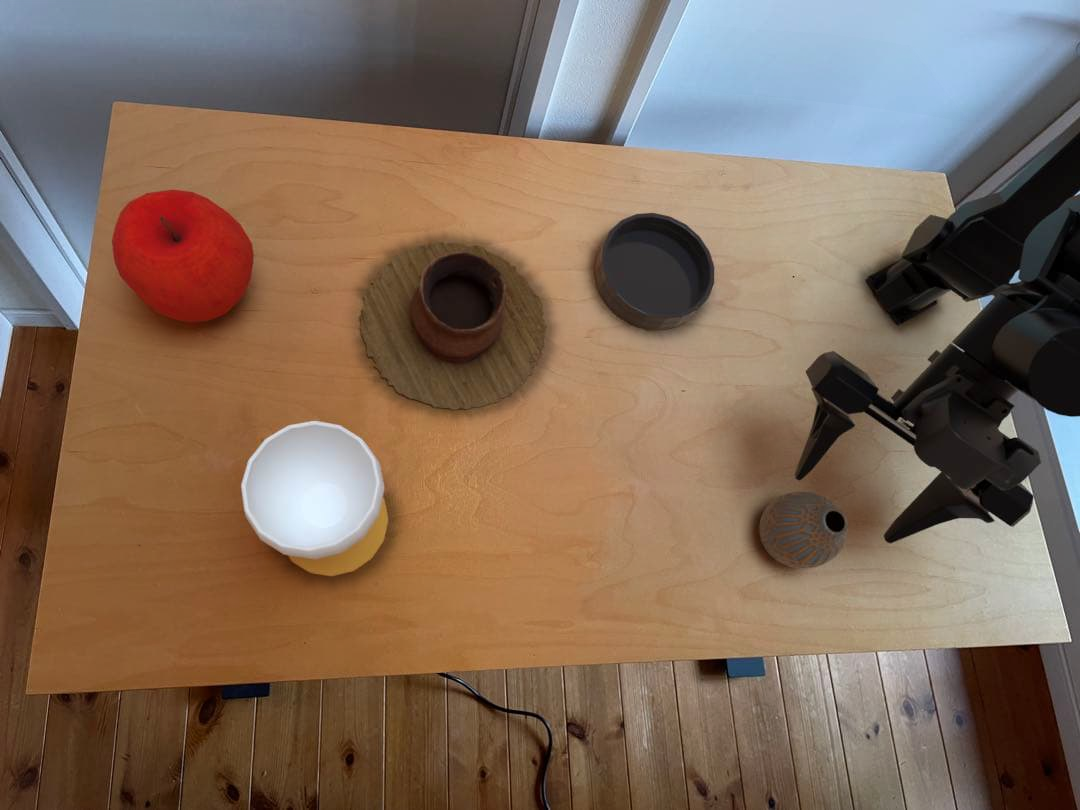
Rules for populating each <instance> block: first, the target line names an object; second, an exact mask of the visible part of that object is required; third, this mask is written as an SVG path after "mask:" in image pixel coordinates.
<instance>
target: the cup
mask: <svg viewBox="0 0 1080 810" xmlns="http://www.w3.org/2000/svg"><path fill="white" fill-rule="evenodd" d="M381 466H382V465H381V463H380V461H379V460H378V458H377V457H376V455H375V454H374V453H373V451H372V450H371V448H370V447H369V446H368V444H367V442H365V441H364V439H363V438H362V437H360V436H358V435H357V434H355V433H354V432H352V431H350V430H348V429H347V428H345V427H344V426H342V425H340V424H335V423H330V422H324V421H319V420H310V421H304V422H300V423H294V424H288V425H286V426H285V427H283V428H281V429H280V430H278V431H276V432H274V433H273V434H271V435H269V436H267V437H265V439H264V440H262V442H261V443H260V445H259V446H258V447H257V449H256V450H255V451H254V452H253V454H251V456H250V457H249V458H248V460H247V463H246V466H245V470H244V473H243V477H242V480H241V483H240V488H241V489H240V490H241V496H242V497H241V498H242V503H243V511H244V515H245V518H246V520H247V521H248V523H249V524H250V526H251V527H252V529H253V530H254V532H255V534H256V535H257V537H258V538H259V540H260V541H262V542H263V543H264V544H266V545H268V546H269V547H271V548H273V549H274V550H276V551H277V552H279V553H281V554H282V555H284V556H287V557H288V558H289V560H290V561H291V562H292V563H293V564H295V565H297V566H298V567H300V568H301V569H302V570H304V571H307V572H308V573H309V574H314V575H321V576H327V577H335V576H339V575H344V574H348V573H352V572H355V571H357V570H358V569H359V568H360V567H362V566H364V565H365V564H366V563H368V562H369V561H372V559H373V558H374V556H375V555H376V553H377V552H378V550H379V549H380V547H381V546H382V545H383V543H384V541H385V539H386V533H387V528H388V526H389V525H388V524H389V515H388V510H387V505H386V501H385V500H386V499H385V498H384V495H385V494H384V493H385V489H386V487H385V482H384V477H383V471H382V467H381Z"/></svg>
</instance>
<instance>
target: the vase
mask: <svg viewBox="0 0 1080 810" xmlns="http://www.w3.org/2000/svg"><path fill="white" fill-rule="evenodd" d="M848 528H849V520H848V517H847V515H846V513H845V512H844V511H843V510H841V509H840V508H839V507H838V506H837V504H836V503H835V502H833V501H832V500H831V499H830V498H828V497H826V496H824V495H822V494H820V493H816V492H813V491H803V490H802V491H801V490H800V491H793V492H789V493H785V494H783V495H781V496H779V497H776V498H775V499H774V500H773V501H771V502H770V503H769V504H768V505H767V507H766V508H765V509H764V511H763V512H762V515H761V517H760V520H759V524H758V532H759V533H758V534H759V538H760V541H761V543H762V544H761V545H762V546H763V547H764V549H765V551H766V552H767V554H768V555H769V556H771V558H773V559H774V560H775V561H776V562H778V563H780V564H782V565H785V566H787V567H789V568H794V569H814V568H818V567H820V566H823V565H826V564H827V563H829V562H831V561H832V560H833V559H834V558H836V557H837V556H838V554H839V553H840V552H841V551H842V550H843V548H844V546H845V543H846V539H847V536H848V535H847V534H848Z"/></svg>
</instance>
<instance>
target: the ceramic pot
mask: <svg viewBox="0 0 1080 810" xmlns="http://www.w3.org/2000/svg"><path fill="white" fill-rule="evenodd" d="M370 283H371V284H373V287H370V288H368V289H366V290H365V292H364V294H363V301H364V304H363V307H362V308H361V309H360V315H359V316H358V319H360V334H361V336H362V338H363V339H362V340H363V342H364V343H365V345H366V356H367V357H368V358H372V359H373V360H374V362H375V364H374V365H373V366H374V368H375V369H377V370H378V371H379V373H380V378H383V379H385V380H387V382H388V383H387V384H388V386H393V388H394V389H395V392H396V393H398V394H399V395H403V396H404V397H406V398H407V399H411V400H415V401H419V402H421V403H424V404H427V405H431V406H432V407H433V408H441V409H450V410H452V411H457V410H460V409H463V410H469V409H471V408H480V407H485V406H487V405H490V404H494V403H497V402H500V401H501V400H502V399H503V398H506V397H510V396H512V395H514V392H516V391H517V390H520V389H521V388H523V386H524V385H525V382H526V381H528V379H527V378H528V376H531V375H533V374H534V368H535V367H536V366H538V364H539V359H540V358H541V357H542V355H543V354H542V349H545V335H546V330H547V326H548V325H547V324H545V319H544V317H543V316H544V311H543V303H542V301H541V299H540V298H541V297H540V296H539V295H537V294H536V291H535V289H534V288H532V287H531V285H530V284H529V281H528V279H527V278H526V277H525V276H523V275H521V274H520V273H518V272H517V266H515V265H512V264H511V262H510V261H508V260H506V259H504V258H503V257H502V255H499V254H495V253H493V252H490V251H487V250H486V249H485V247H483V246H479V245H477V244H474V245H465V244H463V243H459V242H447V243H445V242H443V241H441V242H439V241H438V242H428V244H423V245H418V246H417V245H416V246H414V248H412V249H409V250H403V252H402V253H401V254H400V255H395V256H393V257H392V259H391V261H390V262H389V263H387V264H386V265H385V266H384V267H382V268H380V269H379V270H378V274H376V275H375V276H374V280H371V281H370Z"/></svg>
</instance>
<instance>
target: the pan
mask: <svg viewBox="0 0 1080 810" xmlns="http://www.w3.org/2000/svg"><path fill="white" fill-rule="evenodd" d="M594 281H595V285H596V288H597V291H598V293H599V295H600V297H601V299H602V300H603V302H604V303H605V304H606V306H607V307H608V309H610V311H612V313H614V314H615V315H616V316H617V317H618V318H619V319H621V320H623V321H624V322H626V323H628V324H630V325H632V326H635V327H636V328H640V329H643V330H650V331H664V330H669V329H673V328H676V327H679V326H680V325H682V324H684V323H686V322H687V321H689V320H690V319H691V318H692V316H693V315H694V314H695V313H696V312H698V310H699V309H700V308H701V307H702V306H703V305H704V304H705V303H706V301H707V300H708V299H710V298H709V297H710V295H711V293H712V290H713V288H714V284H715V265H714V260H713V258H712V256H711V252H710V250H709V248H708V247H707V245H706V244H705V242H704V240H703V239H702V238H701V236H700V235H699V234H697V233H696V232H695V231H694V230H693V229H692V228H691V227H690V226H689V225H688V224H686V223H684V222H682V221H680V220H678V219H676V218H674V217H672V216H670V215H666V214H661V213H656V212H646V213H644V212H643V213H635V214H633V215H630V216H628V217H625V218H623V219H621V220H620V221H618V223H616V224H615V225H614V226H613V227H612V228H611V229H610V230H609V232H608V233H607V235H606V237H605V239H604V241H603V243H602V245H601V247H600V249H599V251H598V252H597V254H596V258H595V263H594Z"/></svg>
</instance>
